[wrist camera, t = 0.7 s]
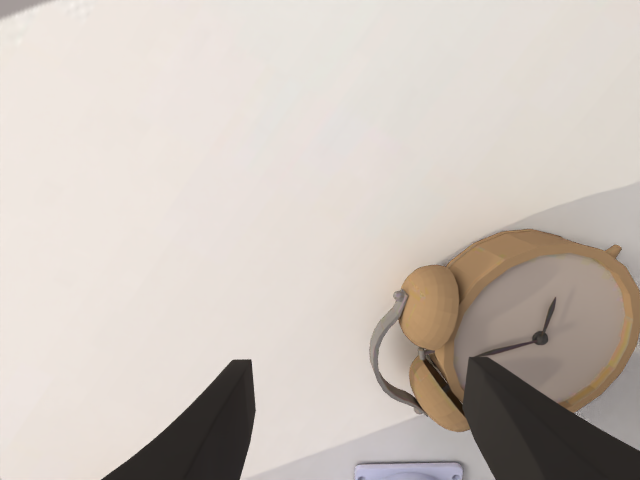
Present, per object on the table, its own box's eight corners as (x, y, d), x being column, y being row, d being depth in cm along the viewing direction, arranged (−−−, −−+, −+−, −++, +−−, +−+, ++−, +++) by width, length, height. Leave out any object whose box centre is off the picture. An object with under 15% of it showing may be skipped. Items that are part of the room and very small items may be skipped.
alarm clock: (642, 397, 19) (408, 485, 18) (567, 351, 24) (377, 416, 22) (652, 217, 16) (369, 303, 15) (564, 204, 21) (343, 268, 19)
